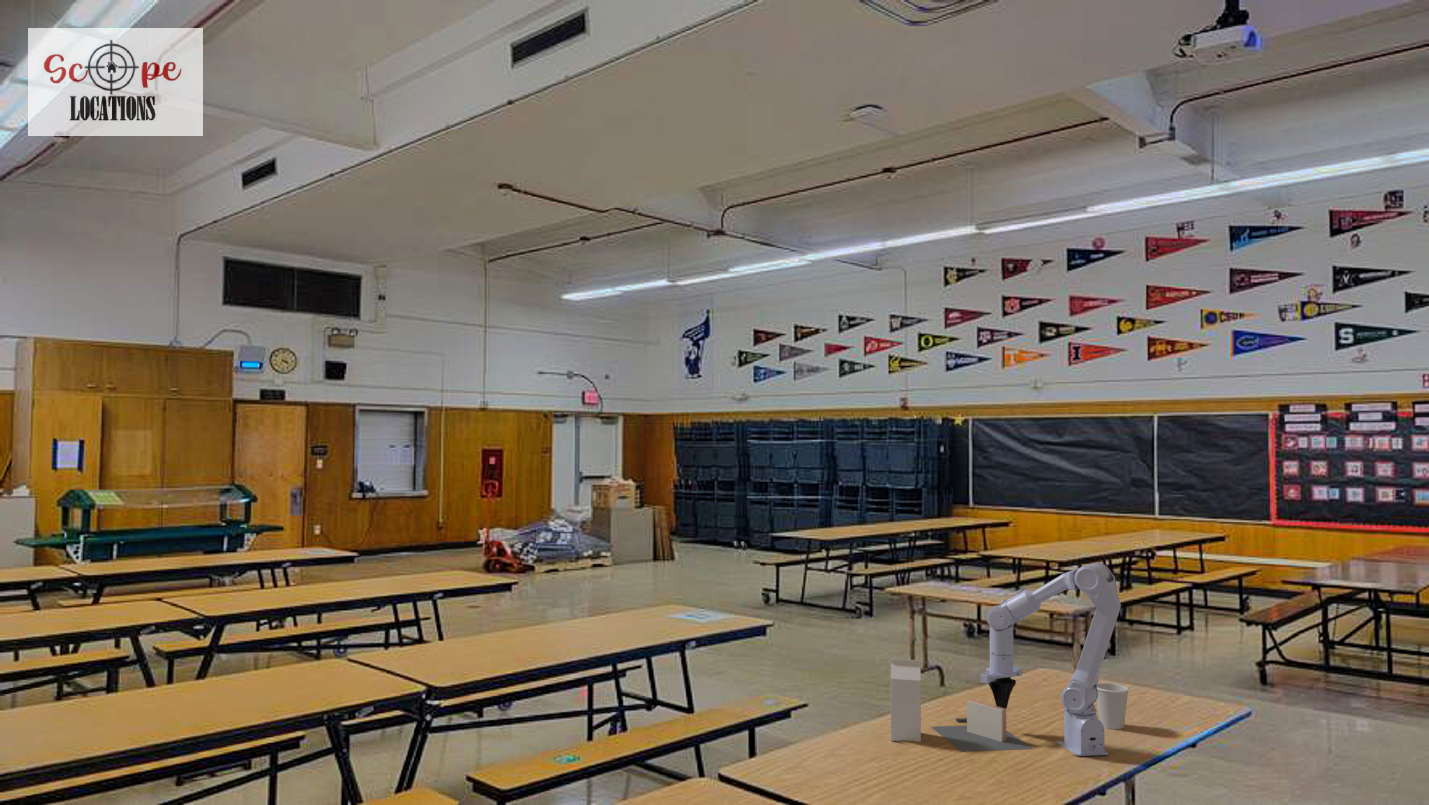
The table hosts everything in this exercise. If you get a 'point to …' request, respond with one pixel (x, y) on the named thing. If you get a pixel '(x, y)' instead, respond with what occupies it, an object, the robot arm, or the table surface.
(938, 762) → the table surface
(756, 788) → the table surface
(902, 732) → the milk carton
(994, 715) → the tile
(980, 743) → the mat
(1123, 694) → the dixie cup
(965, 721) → the turner
